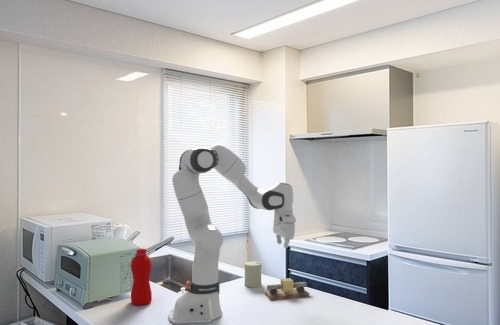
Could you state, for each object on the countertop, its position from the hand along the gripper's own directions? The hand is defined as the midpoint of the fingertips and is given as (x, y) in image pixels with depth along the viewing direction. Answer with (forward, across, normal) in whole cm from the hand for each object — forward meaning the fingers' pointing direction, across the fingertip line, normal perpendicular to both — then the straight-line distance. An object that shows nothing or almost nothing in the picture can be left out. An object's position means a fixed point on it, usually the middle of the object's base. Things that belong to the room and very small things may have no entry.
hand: (282, 245), depth 184 cm
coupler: (+24, -4, +5) cm, 25 cm away
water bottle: (+28, -13, -65) cm, 72 cm away
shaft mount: (+25, -4, +5) cm, 26 cm away
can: (+26, -25, -7) cm, 36 cm away
